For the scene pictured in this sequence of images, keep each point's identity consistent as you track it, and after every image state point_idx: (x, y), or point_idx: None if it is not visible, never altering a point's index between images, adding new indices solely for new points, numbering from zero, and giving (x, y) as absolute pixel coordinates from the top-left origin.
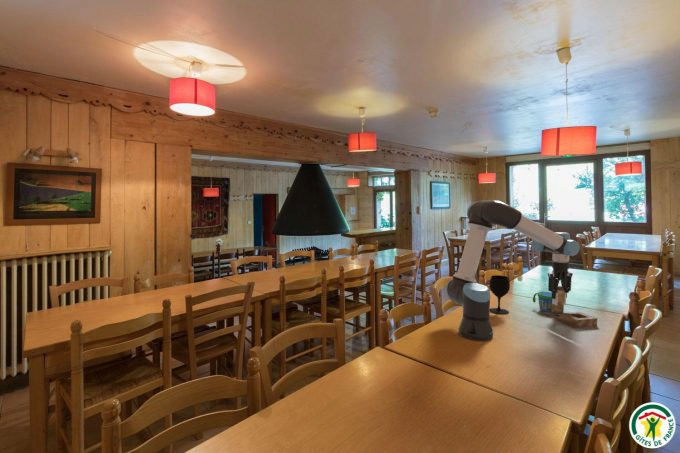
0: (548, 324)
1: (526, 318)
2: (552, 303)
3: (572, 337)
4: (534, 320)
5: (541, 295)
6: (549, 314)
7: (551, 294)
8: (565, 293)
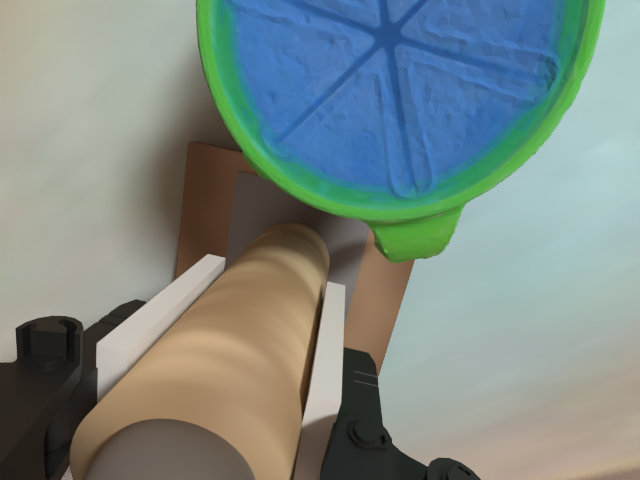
0: (92, 310)
1: (23, 154)
2: (204, 260)
3: (66, 475)
4: (53, 214)
5: (199, 29)
6: (237, 206)
7: (489, 31)
8: (300, 471)
